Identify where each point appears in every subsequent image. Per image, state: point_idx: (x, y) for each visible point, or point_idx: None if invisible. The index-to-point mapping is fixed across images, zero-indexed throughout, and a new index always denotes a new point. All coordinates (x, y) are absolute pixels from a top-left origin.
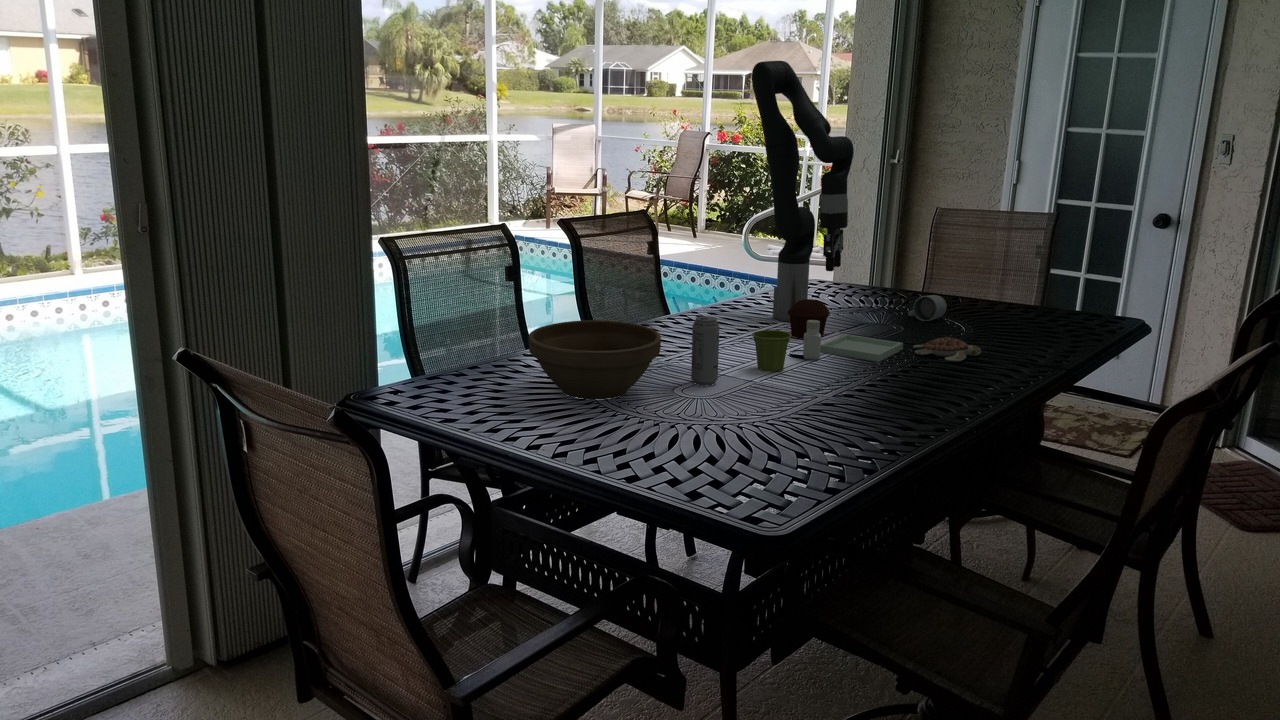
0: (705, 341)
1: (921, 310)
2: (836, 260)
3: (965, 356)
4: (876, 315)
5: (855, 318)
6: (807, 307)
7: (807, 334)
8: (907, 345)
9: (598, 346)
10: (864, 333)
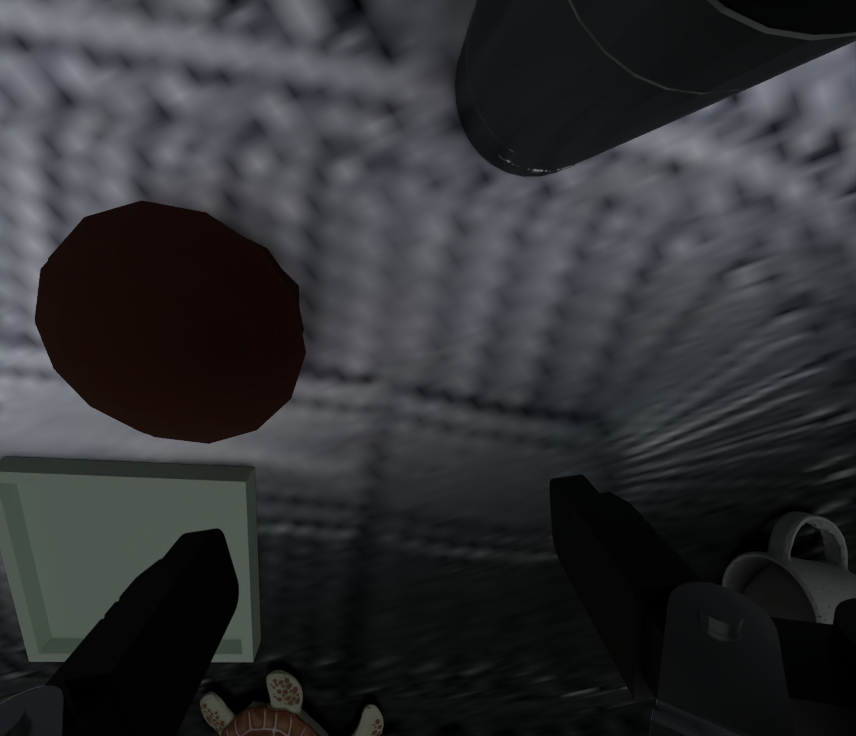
0: None
1: (783, 580)
2: (584, 563)
3: None
4: (776, 409)
5: (683, 359)
6: (56, 370)
7: None
8: (329, 632)
9: None
10: (421, 478)
